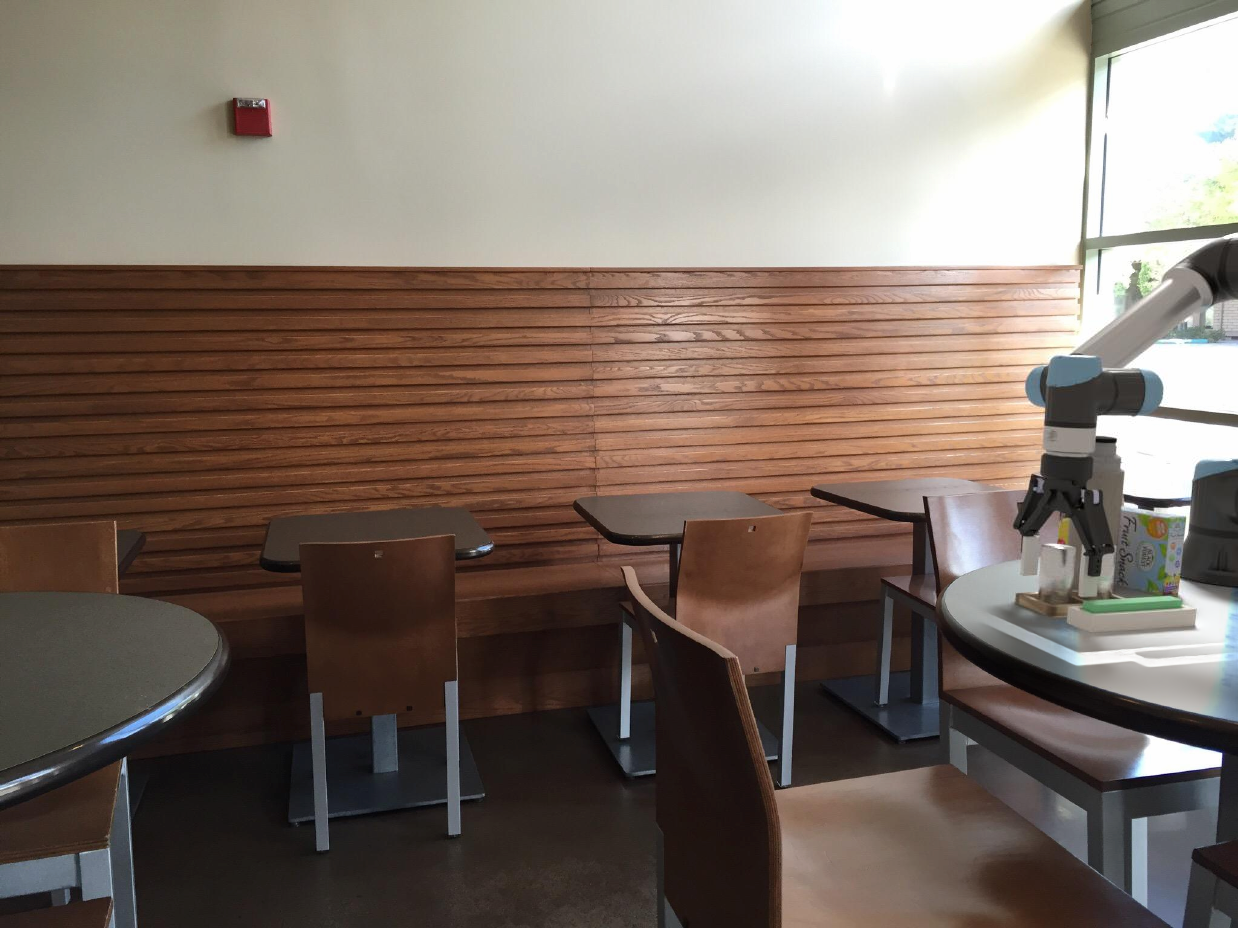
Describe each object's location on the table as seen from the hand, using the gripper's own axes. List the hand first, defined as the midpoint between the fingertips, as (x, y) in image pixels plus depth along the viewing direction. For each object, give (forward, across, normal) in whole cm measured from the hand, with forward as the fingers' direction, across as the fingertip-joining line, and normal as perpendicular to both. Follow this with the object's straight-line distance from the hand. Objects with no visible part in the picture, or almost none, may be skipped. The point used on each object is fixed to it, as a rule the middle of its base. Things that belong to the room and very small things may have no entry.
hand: (1056, 585), depth 155 cm
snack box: (+6, -14, +24) cm, 28 cm away
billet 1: (+4, 0, 0) cm, 4 cm away
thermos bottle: (+5, -11, +16) cm, 20 cm away
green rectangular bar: (+4, +10, +6) cm, 12 cm away
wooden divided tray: (+5, 0, +4) cm, 6 cm away
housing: (+5, +10, +6) cm, 13 cm away
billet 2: (+4, 0, +8) cm, 8 cm away
